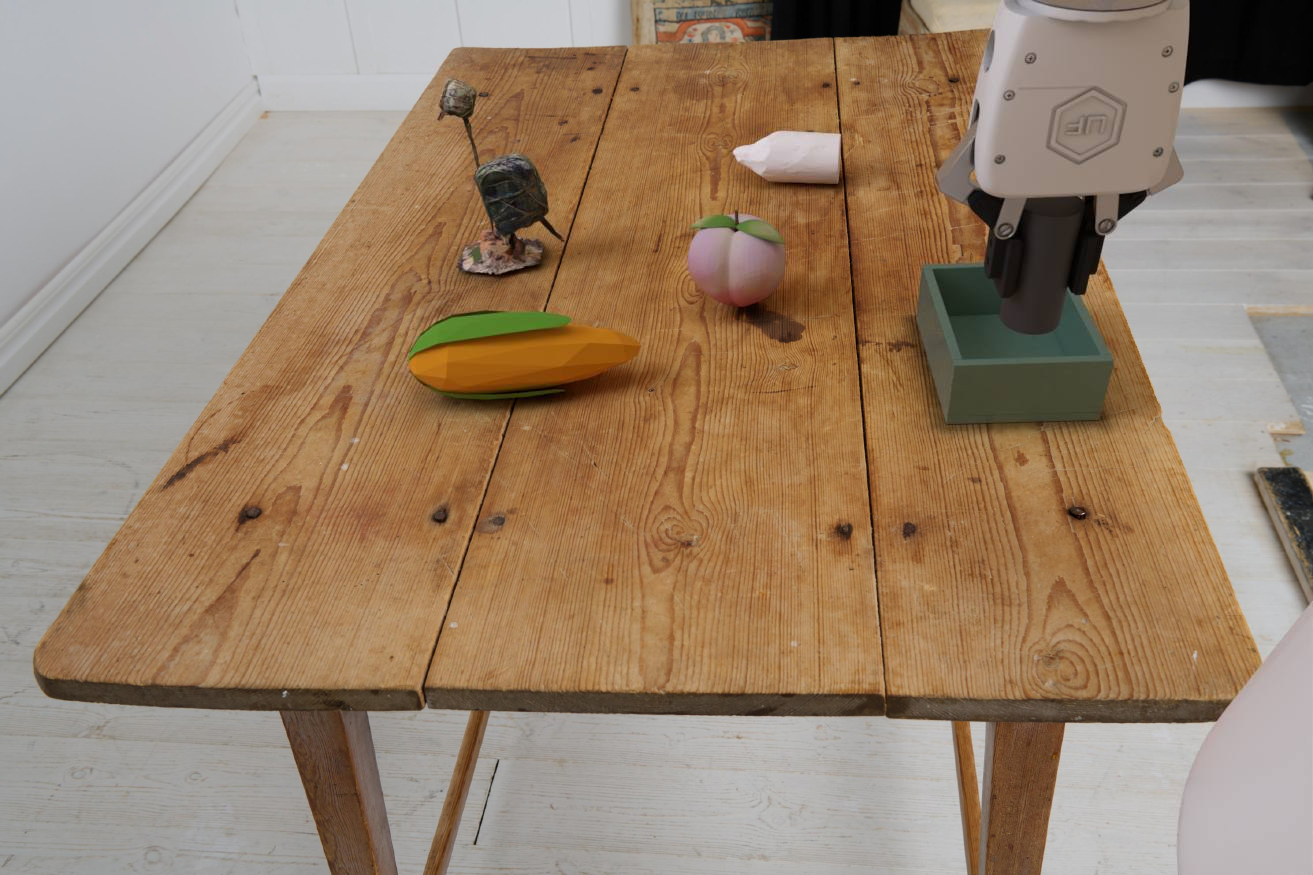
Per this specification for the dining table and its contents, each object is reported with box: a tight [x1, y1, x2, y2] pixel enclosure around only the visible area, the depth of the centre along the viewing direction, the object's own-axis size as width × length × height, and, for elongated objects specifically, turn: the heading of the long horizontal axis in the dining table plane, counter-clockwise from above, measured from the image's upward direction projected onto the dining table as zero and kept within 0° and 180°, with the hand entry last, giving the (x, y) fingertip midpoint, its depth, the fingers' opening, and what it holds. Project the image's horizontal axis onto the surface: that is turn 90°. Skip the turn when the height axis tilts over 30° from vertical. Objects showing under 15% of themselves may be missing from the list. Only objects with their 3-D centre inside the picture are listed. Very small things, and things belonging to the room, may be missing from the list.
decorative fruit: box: [686, 209, 787, 308], centre depth 99 cm, size 9×8×10 cm
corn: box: [407, 309, 642, 401], centre depth 91 cm, size 7×8×20 cm
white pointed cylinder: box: [732, 130, 842, 185], centre depth 120 cm, size 6×12×6 cm, turn 79°
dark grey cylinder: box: [1000, 196, 1085, 335], centre depth 64 cm, size 4×4×8 cm
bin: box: [915, 261, 1115, 425], centre depth 90 cm, size 16×12×6 cm
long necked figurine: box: [436, 77, 566, 276], centre depth 105 cm, size 8×11×20 cm
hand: (1036, 282), depth 65 cm, fingers closed on dark grey cylinder, 3 cm apart
